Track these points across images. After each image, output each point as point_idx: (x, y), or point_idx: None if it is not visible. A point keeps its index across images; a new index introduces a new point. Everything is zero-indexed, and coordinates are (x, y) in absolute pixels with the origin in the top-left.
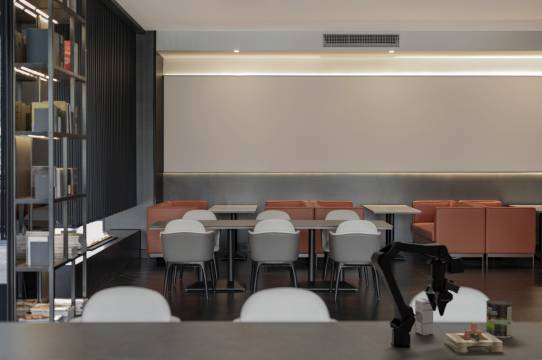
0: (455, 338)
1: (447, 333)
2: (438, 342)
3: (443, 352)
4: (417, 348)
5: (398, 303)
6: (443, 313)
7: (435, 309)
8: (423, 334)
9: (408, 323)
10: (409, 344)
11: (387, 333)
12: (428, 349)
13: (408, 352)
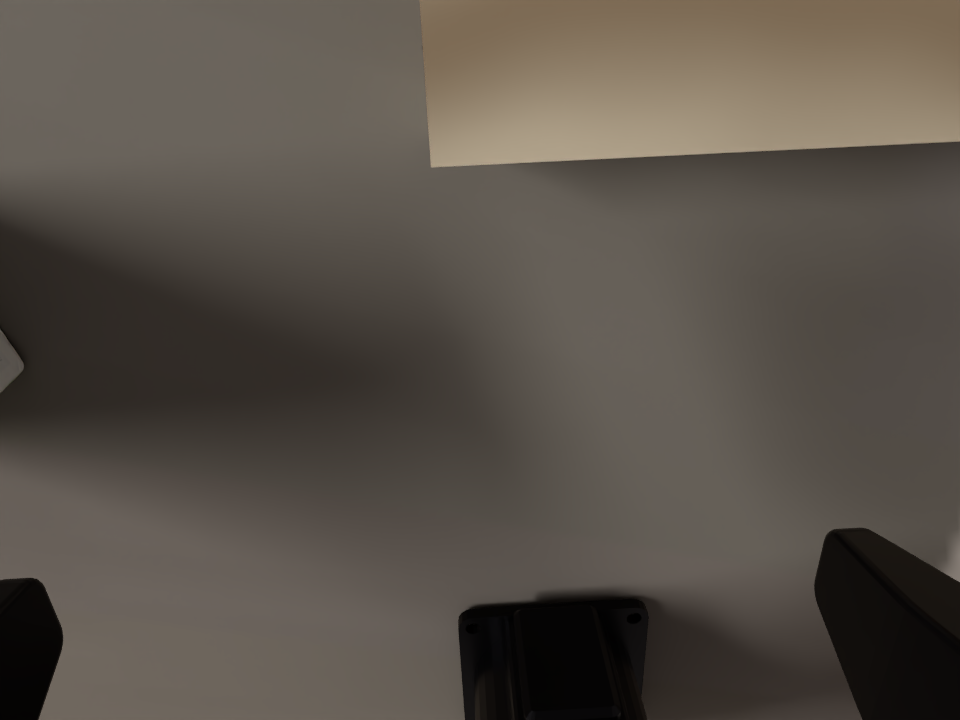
0: (858, 65)
1: (450, 117)
2: (409, 226)
3: (921, 292)
4: (684, 538)
5: None
6: (950, 587)
7: (13, 621)
8: (14, 359)
9: None
10: (594, 612)
11: None
12: (747, 436)
13: (815, 636)
